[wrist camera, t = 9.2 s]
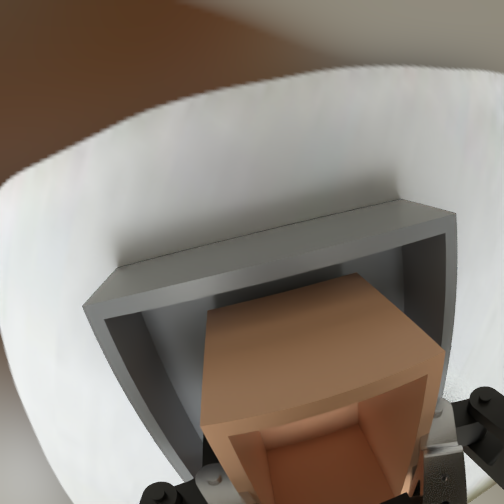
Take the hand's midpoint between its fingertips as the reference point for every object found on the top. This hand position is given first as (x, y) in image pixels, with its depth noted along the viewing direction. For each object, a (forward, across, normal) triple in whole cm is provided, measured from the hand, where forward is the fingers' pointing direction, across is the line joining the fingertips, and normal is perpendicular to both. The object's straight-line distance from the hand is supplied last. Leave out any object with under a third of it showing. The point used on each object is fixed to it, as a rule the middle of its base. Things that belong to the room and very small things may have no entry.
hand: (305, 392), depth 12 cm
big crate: (+3, 0, 0) cm, 3 cm away
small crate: (+1, 0, 0) cm, 1 cm away
